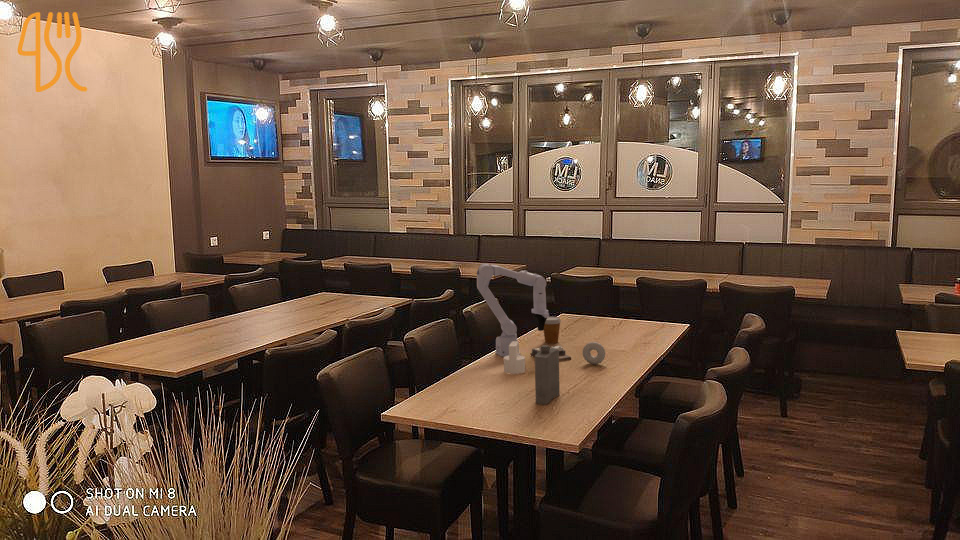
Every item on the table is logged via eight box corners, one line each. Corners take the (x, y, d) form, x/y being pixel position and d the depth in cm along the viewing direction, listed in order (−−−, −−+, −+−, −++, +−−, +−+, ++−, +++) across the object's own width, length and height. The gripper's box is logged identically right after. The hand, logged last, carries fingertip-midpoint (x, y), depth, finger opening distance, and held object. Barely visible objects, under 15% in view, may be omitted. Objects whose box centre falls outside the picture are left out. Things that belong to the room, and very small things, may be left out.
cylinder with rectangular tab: (523, 374, 303) (522, 346, 301) (502, 374, 304) (501, 345, 303) (526, 368, 311) (526, 341, 310) (505, 368, 313) (505, 341, 312)
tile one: (538, 354, 329) (538, 349, 329) (534, 352, 333) (534, 348, 333) (546, 353, 331) (546, 348, 330) (542, 351, 334) (542, 347, 334)
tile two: (555, 352, 327) (555, 348, 327) (551, 351, 331) (550, 346, 331) (562, 351, 329) (562, 347, 328) (558, 349, 332) (558, 345, 332)
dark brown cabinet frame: (545, 363, 319) (545, 356, 319) (530, 355, 333) (530, 349, 333) (571, 359, 324) (571, 353, 324) (555, 352, 338) (555, 346, 338)
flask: (547, 392, 277) (546, 340, 274) (561, 394, 274) (560, 342, 272) (531, 403, 264) (530, 349, 261) (546, 405, 261) (545, 351, 259)
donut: (581, 364, 315) (581, 341, 314) (583, 362, 318) (583, 340, 317) (604, 366, 311) (604, 343, 310) (606, 364, 315) (606, 341, 313)
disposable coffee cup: (561, 339, 363) (560, 316, 361) (561, 344, 353) (561, 320, 352) (542, 340, 364) (541, 316, 362) (541, 344, 354) (541, 320, 353)
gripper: (554, 302, 330) (555, 332, 332) (540, 298, 344) (541, 326, 345) (540, 304, 328) (541, 334, 330) (527, 300, 341) (528, 328, 343)
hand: (540, 330), depth 337 cm, fingers closed
